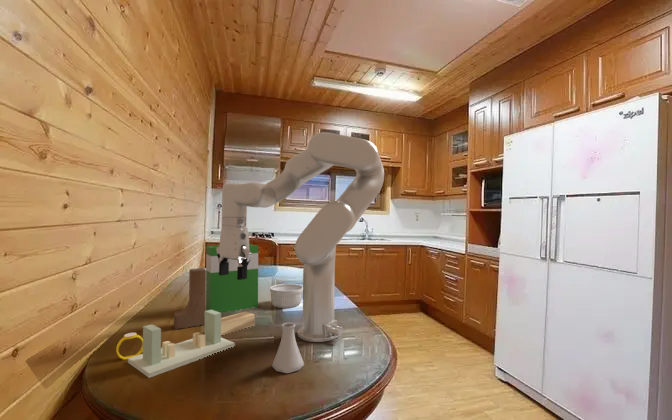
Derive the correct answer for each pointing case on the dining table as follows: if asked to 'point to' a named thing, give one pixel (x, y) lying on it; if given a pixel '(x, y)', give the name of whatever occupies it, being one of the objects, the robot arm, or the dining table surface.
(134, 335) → the watch
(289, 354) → the flask
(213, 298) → the green cereal box
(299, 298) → the ramekin
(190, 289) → the wooden block
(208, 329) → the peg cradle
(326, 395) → the dining table surface
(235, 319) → the tan wooden bar
